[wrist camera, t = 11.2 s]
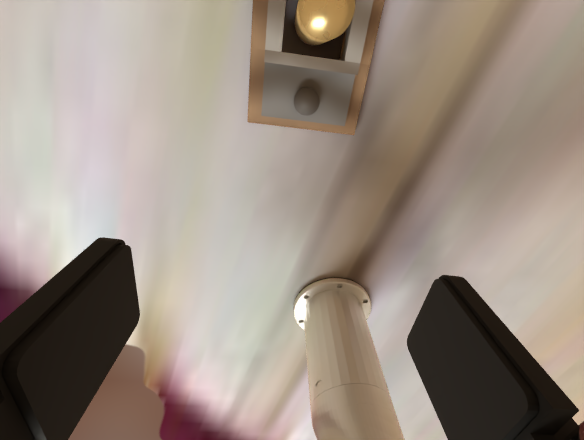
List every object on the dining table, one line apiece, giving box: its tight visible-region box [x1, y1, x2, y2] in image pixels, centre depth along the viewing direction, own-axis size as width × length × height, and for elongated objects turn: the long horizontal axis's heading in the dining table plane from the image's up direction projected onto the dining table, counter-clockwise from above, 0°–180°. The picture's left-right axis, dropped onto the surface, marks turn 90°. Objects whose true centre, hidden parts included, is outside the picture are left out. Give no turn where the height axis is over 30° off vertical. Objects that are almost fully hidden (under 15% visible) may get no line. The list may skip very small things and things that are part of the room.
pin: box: [294, 0, 355, 46], centre depth 24 cm, size 4×4×9 cm
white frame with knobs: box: [248, 0, 385, 135], centre depth 26 cm, size 20×12×4 cm, turn 173°
